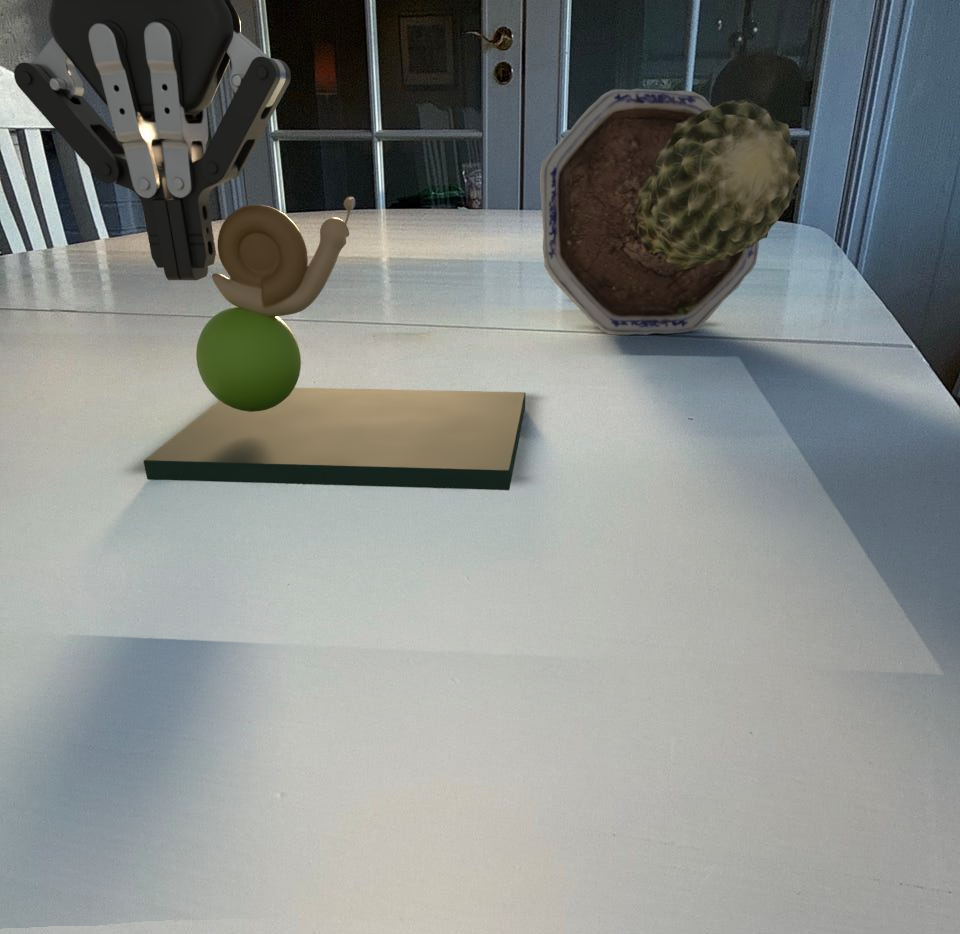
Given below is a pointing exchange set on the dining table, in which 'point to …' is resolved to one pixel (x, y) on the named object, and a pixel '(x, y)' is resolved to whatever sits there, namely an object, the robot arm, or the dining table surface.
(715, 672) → the dining table surface
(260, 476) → the mat
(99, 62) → the robot arm
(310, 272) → the snail figurine
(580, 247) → the potted plant
